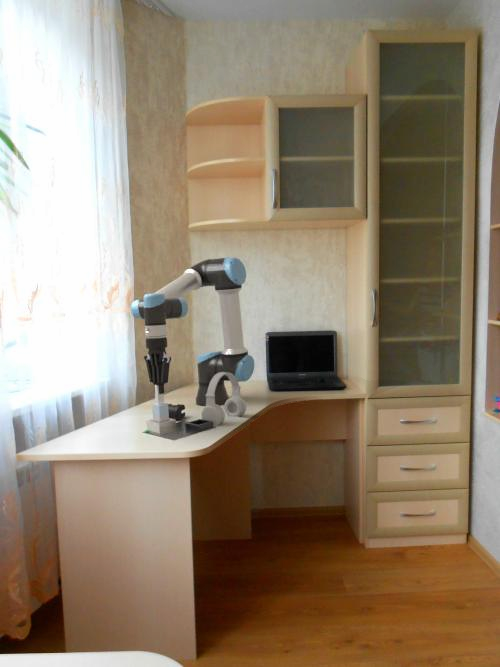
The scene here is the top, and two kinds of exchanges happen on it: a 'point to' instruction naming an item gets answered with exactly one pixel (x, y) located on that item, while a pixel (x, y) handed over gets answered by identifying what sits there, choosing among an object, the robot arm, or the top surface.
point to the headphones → (232, 405)
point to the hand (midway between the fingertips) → (159, 402)
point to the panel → (177, 428)
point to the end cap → (176, 411)
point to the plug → (160, 412)
